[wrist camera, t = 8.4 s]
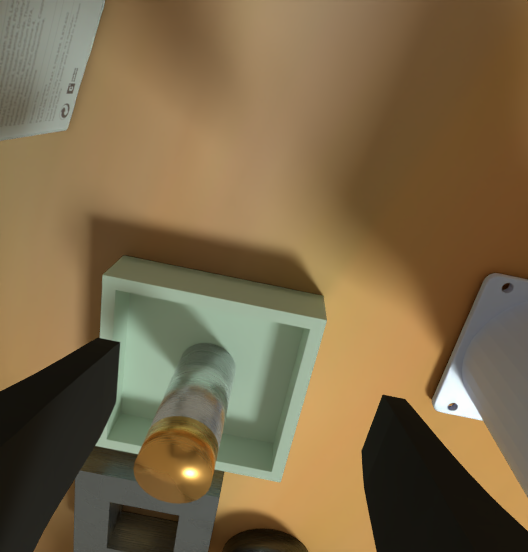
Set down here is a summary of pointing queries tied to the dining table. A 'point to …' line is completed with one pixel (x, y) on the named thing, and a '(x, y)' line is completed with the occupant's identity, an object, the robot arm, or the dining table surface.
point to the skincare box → (43, 62)
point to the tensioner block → (148, 530)
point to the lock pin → (187, 427)
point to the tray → (220, 331)
